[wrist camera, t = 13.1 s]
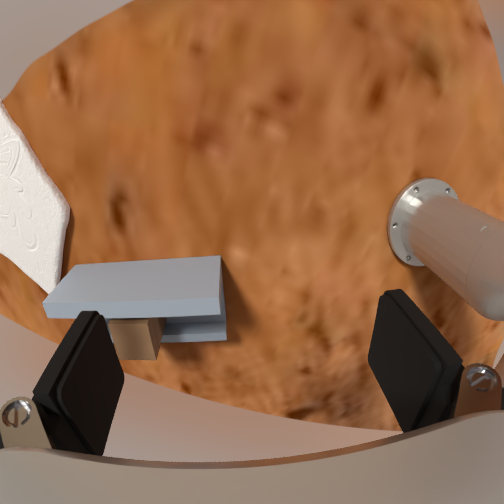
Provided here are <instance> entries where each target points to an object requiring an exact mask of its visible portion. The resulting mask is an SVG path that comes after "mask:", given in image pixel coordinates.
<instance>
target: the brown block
mask: <svg viewBox="0 0 504 504" xmlns="http://www.w3.org/2000/svg"><path fill="white" fill-rule="evenodd" d="M166 321H167V319H166V317H150V318H111V319H110V321H109V323H108V326H109V329H110V332H111V336H112V339H113V342H114V345H115V348H116V351H117V354H118V357H119V359H123V360H157V356H158V352H159V348H160V344H161V340H162V336H163V332H164V328H165V324H166Z"/></svg>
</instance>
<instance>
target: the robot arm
mask: <svg viewBox="0 0 504 504" xmlns="http://www.w3.org/2000/svg"><path fill="white" fill-rule="evenodd" d="M393 224H394V225H393ZM387 228H388V238H389V243H390V245H391V248H392V250H393V251H394V253H395V254H396V255H397V256H398V257H399V258H400V259H401V260H402V261H404V262H405V263H407V264H409V265H412V266H427V267H428V268H429V269H430V270H431V271H432V272H434V273H435V274H436V275H437V276H438V277H439V278H440V279H442V280H443V281H444V282H445V283H446V284H447V285H448V286H449V287H451V288H452V289H453V290H454V291H455V292H456V293H457V294H458V295H459V296H460V297H462V298H463V299H464V300H465V301H466V302H467V303H468V304H469V305H470V306H471V307H472V308H474V309H475V310H476V311H477V312H478V313H479V314H480V315H482V316H483V317H485V318H487V319H490V320H494V321H504V222H503V221H501V220H499V219H497V218H495V217H493V216H491V215H489V214H487V213H485V212H483V211H481V210H478V209H476V208H474V207H472V206H470V205H468V204H466V203H464V202H461V201H459V198H458V196H457V194H456V192H455V191H454V190H453V189H452V187H451V186H449V185H448V184H447V183H445V182H443V181H441V180H438V179H435V178H423V179H419V180H417V181H414V182H412V183H411V184H410V185H408V186H407V187H406V188H405V189H404V190H403V191H402V192H401V193H400V194H399V196H398V197H397V198H396V200H395V202H394V204H393V206H392V208H391V211H390V214H389V218H388V226H387ZM462 361H463V360H462V359H461V358H460V356H459V355H458V354H457V353H456V351H455V350H454V349H453V348H452V347H451V345H450V344H449V343H448V342H447V340H446V339H445V338H444V337H443V336H442V335H441V333H440V332H439V331H438V330H437V329H436V327H435V326H434V325H433V324H432V323H431V322H430V320H429V319H428V318H427V317H426V316H425V315H424V314H423V312H422V311H421V310H420V309H419V308H418V307H417V306H416V305H415V303H414V302H413V301H412V300H411V299H410V298H409V297H408V296H407V294H406V293H405V292H404V291H403V290H402V289H396V290H388V291H385V292H384V294H383V295H381V296H380V298H379V302H378V308H377V314H376V319H375V324H374V330H373V335H372V339H371V344H370V349H369V353H368V362H369V365H370V367H371V369H372V371H373V373H374V375H375V377H376V379H377V381H378V383H379V385H380V387H381V389H382V391H383V393H384V395H385V397H386V399H387V401H388V403H389V405H390V407H391V409H392V411H393V413H394V415H395V417H396V419H397V421H398V423H399V425H400V427H401V429H402V431H403V432H404V433H403V434H399V435H395V436H391V437H388V438H384V439H381V440H376V441H372V442H368V443H364V444H360V445H355V446H350V447H345V448H340V449H335V450H330V451H324V452H318V453H312V454H305V455H298V456H291V457H283V458H273V459H262V460H250V461H234V462H162V461H144V460H133V459H123V458H113V457H105V456H102V455H103V453H104V449H105V445H106V442H107V438H108V434H109V431H110V427H111V424H112V420H113V417H114V413H115V409H116V407H117V403H118V400H119V397H120V393H121V390H122V387H123V384H124V373H123V370H122V367H121V365H120V362H119V359H118V356H117V354H116V351H115V348H114V345H113V342H112V339H111V336H110V333H109V330H108V327H107V324H106V321H105V318H104V316H103V315H100V314H99V312H98V311H81V312H80V313H79V315H78V316H77V318H76V319H75V321H74V323H73V324H72V326H71V327H70V329H69V330H68V332H67V334H66V335H65V337H64V338H63V340H62V342H61V343H60V345H59V347H58V348H57V350H56V352H55V354H54V355H53V357H52V358H51V360H50V362H49V363H48V365H47V367H46V369H45V370H44V372H43V374H42V376H41V377H40V379H39V381H38V383H37V385H36V386H35V388H34V390H33V394H34V396H33V398H32V400H31V399H29V398H26V397H16V398H13V399H11V400H9V401H7V402H6V403H5V404H4V405H3V406H2V408H1V410H0V504H504V354H503V356H502V358H501V359H500V361H499V363H498V364H497V366H496V367H495V369H493V368H491V367H490V366H488V365H485V364H480V363H475V364H471V365H468V366H467V367H466V368H464V366H463V365H462Z"/></svg>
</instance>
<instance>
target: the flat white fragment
mask: <svg viewBox="0 0 504 504" xmlns="http://www.w3.org/2000/svg"><path fill="white" fill-rule="evenodd" d="M69 216H70V206H69V204H68V202H67V201H66V199H65V197H64V196H63V194H62V193H61V192H60V190H59V189H58V187H57V186H56V185H55V183H54V182H53V181H52V179H51V178H50V177H49V175H48V174H47V173H46V171H45V170H44V168H43V166H42V165H41V163H40V161H39V159H38V158H37V156H36V155H35V153H34V152H33V150H32V148H31V146H30V144H29V143H28V141H27V139H26V137H25V135H24V134H23V132H22V131H21V129H20V128H19V127H18V126H17V125H16V124H15V123H14V121H13V120H12V118H11V117H10V115H9V113H8V111H7V110H6V108H5V106H4V105H3V103H2V99H1V97H0V253H1V254H3V255H4V256H5V257H8V258H9V259H10V260H11V261H12V262H14V263H15V264H16V265H17V266H18V267H19V268H20V269H21V270H22V271H23V272H24V273H26V274H27V275H28V276H29V277H30V278H32V279H33V280H34V281H35V282H36V283H37V284H38V285H39V286H41V287H42V288H43V289H44V290H45V291H46V292H47V293H48V294H50V293H51V292H52V291H53V290H54V288H55V287H56V286H57V285H58V284H59V283H60V279H61V270H62V269H61V268H62V259H63V249H64V240H65V234H66V228H67V225H68V222H69Z"/></svg>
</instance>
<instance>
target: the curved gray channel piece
mask: <svg viewBox="0 0 504 504" xmlns="http://www.w3.org/2000/svg"><path fill="white" fill-rule="evenodd" d="M42 303H43V306H44V309H45V312H46V314H47V317H48V318H77V316H78V315H79V313H80V312H81V311H98V312H99V314H100V315H103V316H104V318H105V321H106V324H107V327H108V330H109V333H110V336H111V332H110V329H109V326H108V323H109V321H110V319H111V318H150V317H166V319H167V321H166V324H165V328H164V332H163V336H162V340H161V343H170V342H199V341H220V340H227V319H226V309H225V299H224V288H223V278H222V267H221V255H219V256H204V257H189V258H174V259H159V260H143V261H128V262H113V263H97V264H82V265H75V266H74V267H73V268H72V269H71V270H70V271H69V273H68V274H67V275H66V276H65V277H64V278H63V279H62V280H61V282H60V283H59V284H58V285H57V286H56V287H55V288H54V290H53V291H52V292H51V293H50V294H49V295H48V297H47V298H46V299H45V300H44V301H43V302H42ZM111 339H112V336H111ZM112 342H113V339H112ZM113 343H114V342H113Z"/></svg>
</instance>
